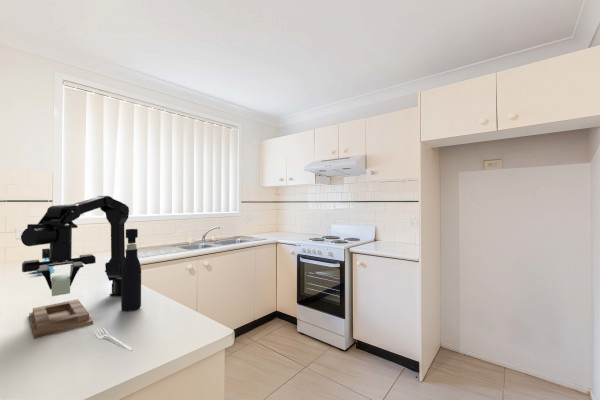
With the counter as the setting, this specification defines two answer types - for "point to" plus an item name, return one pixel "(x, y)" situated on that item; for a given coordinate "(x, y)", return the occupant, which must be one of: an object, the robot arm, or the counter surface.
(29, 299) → the counter surface
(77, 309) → the socket board
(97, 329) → the fork
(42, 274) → the blue spiky figurine
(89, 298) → the counter surface
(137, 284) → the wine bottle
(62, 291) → the peg
